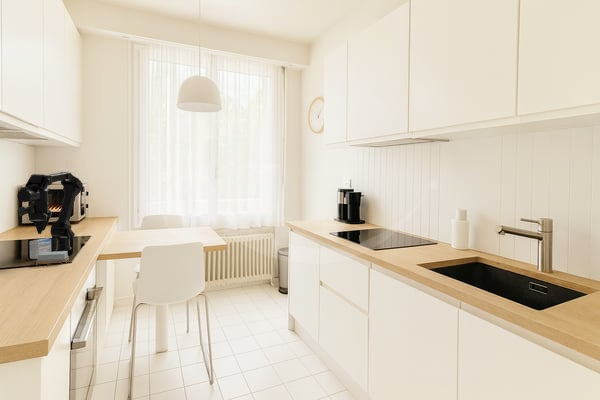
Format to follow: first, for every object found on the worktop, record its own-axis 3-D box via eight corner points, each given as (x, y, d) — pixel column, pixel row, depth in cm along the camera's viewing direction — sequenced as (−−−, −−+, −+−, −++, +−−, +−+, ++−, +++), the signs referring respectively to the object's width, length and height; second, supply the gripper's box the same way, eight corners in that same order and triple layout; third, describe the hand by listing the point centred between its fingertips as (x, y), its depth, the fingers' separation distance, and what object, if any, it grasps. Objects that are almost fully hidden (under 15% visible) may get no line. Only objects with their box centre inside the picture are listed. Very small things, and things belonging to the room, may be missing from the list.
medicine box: (38, 259, 155) (38, 241, 155) (29, 258, 155) (29, 240, 155) (51, 255, 163) (51, 238, 163) (42, 254, 163) (42, 237, 163)
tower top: (41, 257, 151) (41, 252, 151) (67, 256, 155) (67, 250, 155) (37, 260, 146) (37, 255, 146) (64, 259, 150) (64, 253, 150)
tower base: (39, 262, 152) (39, 257, 151) (68, 260, 157) (68, 255, 157) (36, 266, 145) (35, 260, 145) (65, 264, 151) (65, 258, 150)
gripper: (23, 198, 161) (24, 229, 162) (13, 202, 145) (15, 236, 146) (51, 198, 166) (52, 228, 168) (45, 202, 150) (46, 235, 152)
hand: (41, 232), depth 158 cm, fingers open, 9 cm apart
